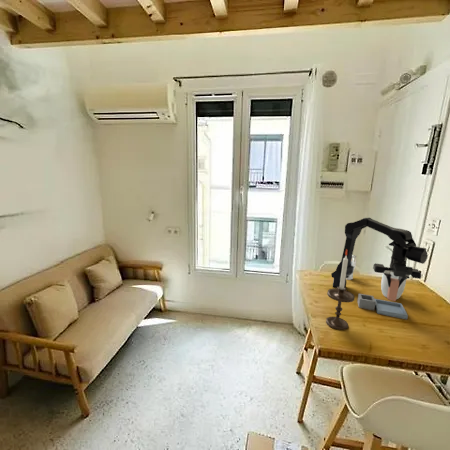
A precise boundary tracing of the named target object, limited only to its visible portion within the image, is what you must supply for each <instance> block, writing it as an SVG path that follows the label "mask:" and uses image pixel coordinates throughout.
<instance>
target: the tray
mask: <svg viewBox="0 0 450 450" xmlns="http://www.w3.org/2000/svg"><path fill="white" fill-rule="evenodd" d="M374 299H375V308H374V309H375V311H376V313H377V315H383V316H387V317H393V318H397V319H403V320H408V317H409V316H408V315H409V314H408V313H407V311H406V309H405V307H404V306H403V304H402V303H400V302H396V301H391V300H384V299H377V298H374Z"/></svg>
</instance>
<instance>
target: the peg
mask: <svg viewBox="0 0 450 450" xmlns="http://www.w3.org/2000/svg"><path fill="white" fill-rule="evenodd" d="M398 286H399V280H398V279H394V278H391V283H390V287H388V293H387V297H386V298H387V301H392V302H396V301H397V299H396V297H397V292H398Z"/></svg>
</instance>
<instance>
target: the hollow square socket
mask: <svg viewBox="0 0 450 450" xmlns="http://www.w3.org/2000/svg"><path fill="white" fill-rule="evenodd" d="M375 299H376V298H375V297H374V295H370V294H363V293H358V295H357V305H358V308H359V309H364V310H369V311H375V309H376V308H375Z"/></svg>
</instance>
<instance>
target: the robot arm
mask: <svg viewBox="0 0 450 450" xmlns="http://www.w3.org/2000/svg"><path fill="white" fill-rule="evenodd" d="M365 228H369V229H371V230H374V231H377V232H378V233H381V234H384V235H385V236H387V237H388V238H389V239H390V240H392V242H390V243H388V246H390V247H393V248H392V253H391V256H390V264H389V266H384V264H381V263H377V262H375V263H373V264H372V265H373V267H372V269H373V271H374V273H379V274H382V275H383V274H384V275H386V277H387V282H388V286H389V287H390V283H391V274H390V273H391V272H393V273H394V276H397V277H398V276H399V278H398V280H399V286H398V288H399V287H400V285H401V284H402V283H403V281H404V280H405V279H406V280H407V279H408V280H409V279H411V277H412V278H413V279H417V280H418V279H419V280H420V279H422V273H421V271H420V270H419V269H417V268H413V267H412V266H407V261H406V260H408V261H413V262H414V263H419V264H425V263H426V261H427V259H428V257H429V255H428V252H427V248H425V247H420V246H417V243H416V242H415V240H414V237H413V234H412V232H411V231H410V230H407V229H403V228H397V227H392V226H390V225H387V224H385V223H382V222H380V221H378V220H375V219H373V218H372V217H363V218H361V219H359V220H356V221H353V222H347V223H346V224H345V225H344V234H345V237H346V238H345V242H344V247H343V251H342V256H341V260H340V262H339V263H338V264H337V267H336V268H335V269H336V270H335V271H333V272H331V278H333V282H332V289H337V287H340V279H341V272H342V264H343V258H345V256H347V259H348V263H347V271H346V278H348V277H349V275H351V274H352V273H353V274H354V271H353V268H354V266H352V265H351V259H352V255H354V249H355V246H356V244H355V243H356V240H357V238H358V237H359V236H360V234H361V233H362V230H363V229H365ZM346 249H347V255H345V252H346ZM346 278H345V285H344V288H346V289H347V279H346Z"/></svg>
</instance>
